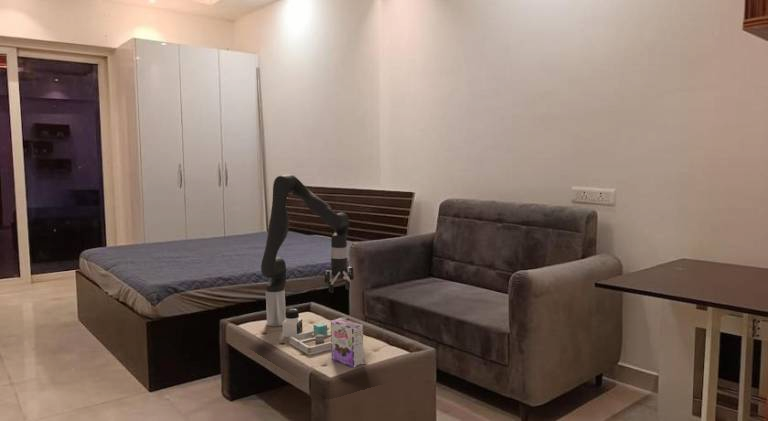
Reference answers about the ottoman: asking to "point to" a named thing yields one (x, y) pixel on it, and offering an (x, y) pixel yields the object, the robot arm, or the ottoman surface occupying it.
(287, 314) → the medicine bottle
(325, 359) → the ottoman surface
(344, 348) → the candy box
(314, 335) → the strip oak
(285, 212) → the robot arm
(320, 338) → the grey puck
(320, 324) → the cube
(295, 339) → the lane board
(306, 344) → the strip walnut
